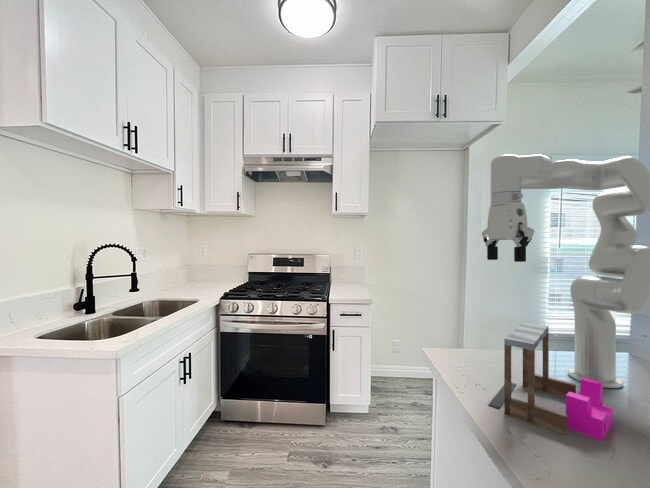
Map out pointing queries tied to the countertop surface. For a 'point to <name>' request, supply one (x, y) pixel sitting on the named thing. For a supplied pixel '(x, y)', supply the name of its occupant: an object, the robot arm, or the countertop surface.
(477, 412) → the countertop surface
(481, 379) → the countertop surface
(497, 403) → the dark grey flat bar
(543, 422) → the tunnel
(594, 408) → the toy block
